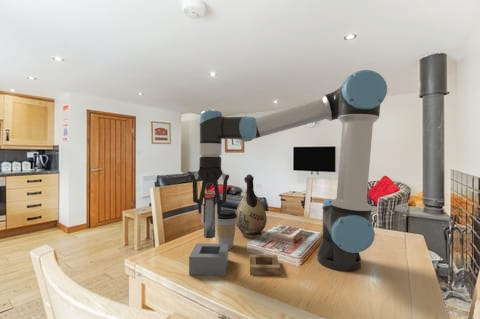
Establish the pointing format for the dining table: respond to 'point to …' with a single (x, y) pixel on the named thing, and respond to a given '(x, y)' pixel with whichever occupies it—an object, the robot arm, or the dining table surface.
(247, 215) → the ceramic jug
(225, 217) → the coffee cup
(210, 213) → the lock pin
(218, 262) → the block
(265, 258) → the mount collar
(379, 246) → the dining table surface
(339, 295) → the dining table surface
